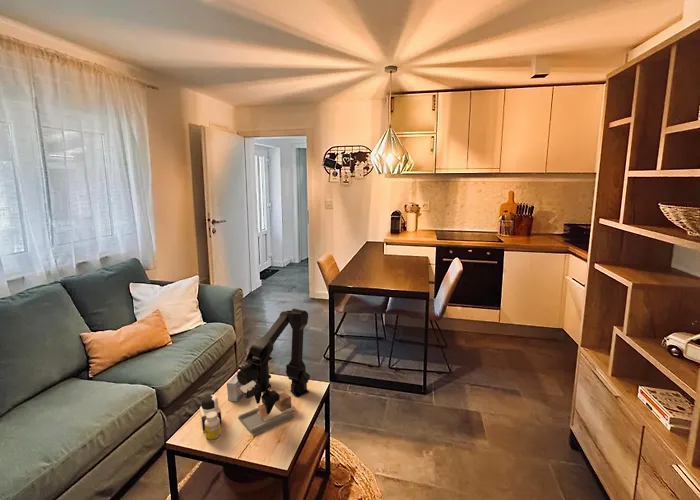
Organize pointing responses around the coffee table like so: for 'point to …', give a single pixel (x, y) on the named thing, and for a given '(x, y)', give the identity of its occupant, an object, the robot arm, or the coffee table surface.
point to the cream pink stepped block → (272, 412)
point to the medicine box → (234, 389)
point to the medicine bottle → (209, 409)
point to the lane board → (261, 421)
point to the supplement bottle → (212, 427)
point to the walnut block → (283, 402)
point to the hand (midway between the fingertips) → (263, 408)
